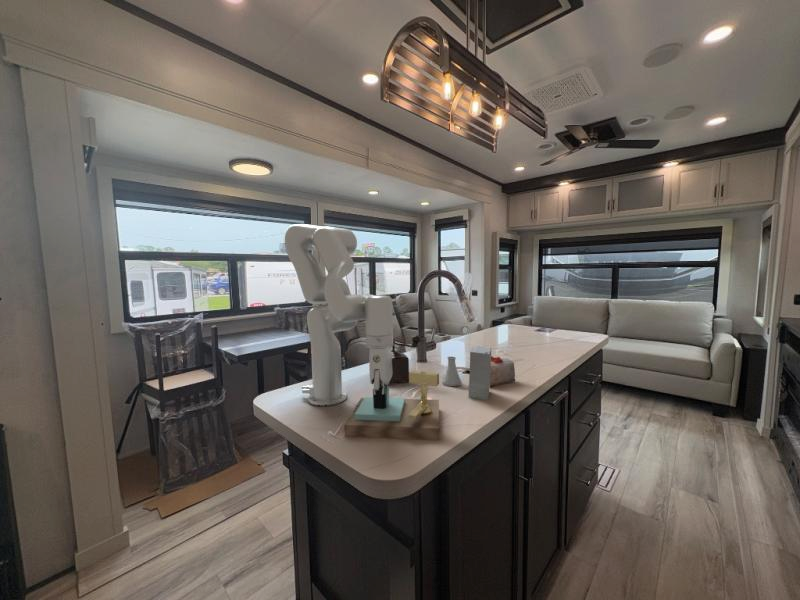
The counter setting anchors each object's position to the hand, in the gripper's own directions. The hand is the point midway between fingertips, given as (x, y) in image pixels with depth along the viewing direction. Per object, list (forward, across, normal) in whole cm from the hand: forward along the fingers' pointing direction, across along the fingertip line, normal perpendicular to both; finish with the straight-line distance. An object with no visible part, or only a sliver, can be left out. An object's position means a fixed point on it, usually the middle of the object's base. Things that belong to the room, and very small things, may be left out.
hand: (381, 404), depth 87 cm
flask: (+5, +33, -21) cm, 39 cm away
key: (+1, -3, -11) cm, 12 cm away
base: (+5, 0, -4) cm, 6 cm away
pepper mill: (+5, +37, -1) cm, 37 cm away
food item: (+5, +35, -37) cm, 51 cm away
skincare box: (+5, +22, -30) cm, 38 cm away
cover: (+2, 0, 0) cm, 2 cm away
